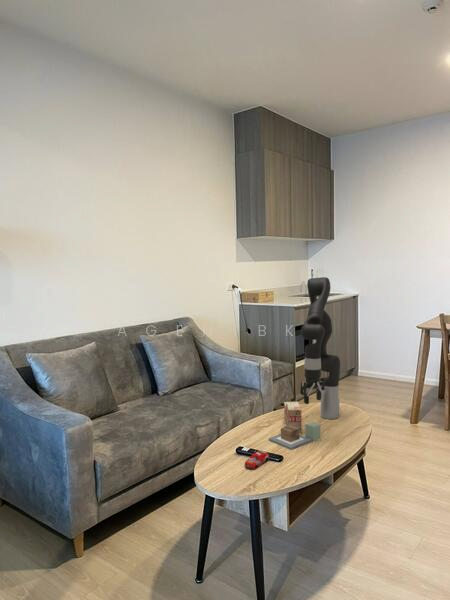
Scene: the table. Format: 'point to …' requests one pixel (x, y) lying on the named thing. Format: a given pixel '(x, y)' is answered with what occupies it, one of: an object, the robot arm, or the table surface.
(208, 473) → the table surface
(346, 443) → the table surface
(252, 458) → the race car
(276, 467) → the table surface
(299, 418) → the stack of blocks
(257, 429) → the table surface
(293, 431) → the board
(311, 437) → the sage block
